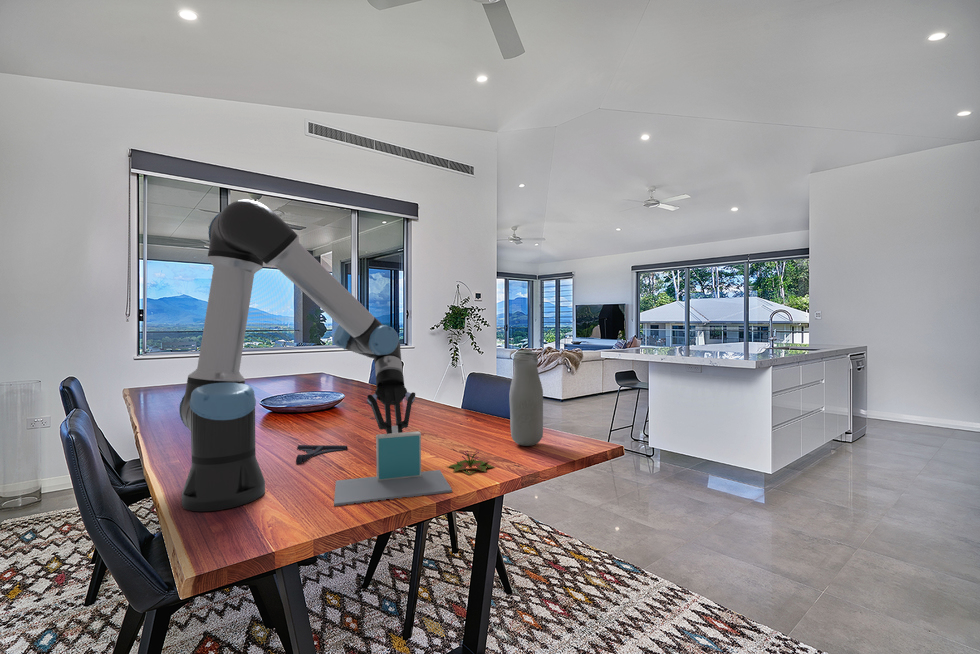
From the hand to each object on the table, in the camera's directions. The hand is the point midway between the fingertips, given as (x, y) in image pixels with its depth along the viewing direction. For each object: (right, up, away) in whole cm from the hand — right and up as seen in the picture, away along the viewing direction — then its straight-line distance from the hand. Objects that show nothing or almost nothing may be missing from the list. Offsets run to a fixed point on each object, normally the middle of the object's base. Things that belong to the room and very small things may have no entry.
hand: (396, 451), depth 113 cm
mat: (+1, -5, -11) cm, 12 cm away
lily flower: (+18, -5, +2) cm, 19 cm away
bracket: (-26, -6, +14) cm, 30 cm away
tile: (+2, -4, -6) cm, 8 cm away
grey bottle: (+34, -5, +23) cm, 41 cm away
